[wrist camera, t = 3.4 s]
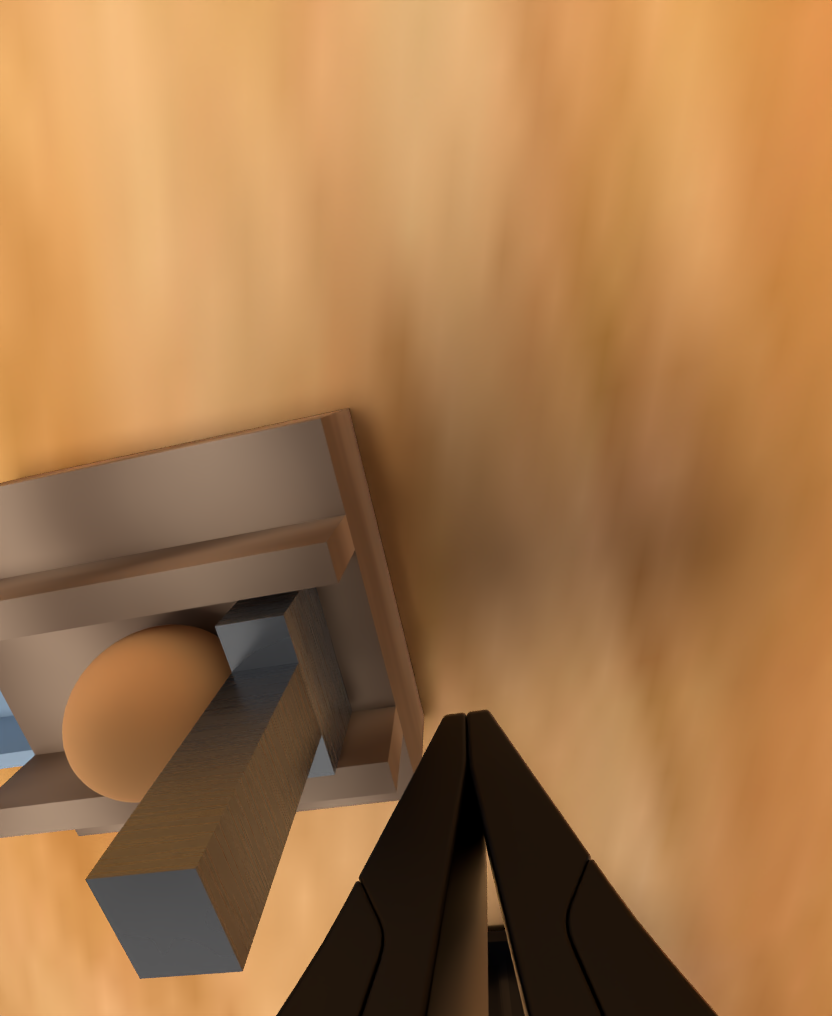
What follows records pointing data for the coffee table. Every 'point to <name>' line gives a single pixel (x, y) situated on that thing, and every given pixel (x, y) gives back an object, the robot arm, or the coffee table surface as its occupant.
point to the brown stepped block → (198, 594)
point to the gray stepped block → (228, 795)
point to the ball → (140, 707)
